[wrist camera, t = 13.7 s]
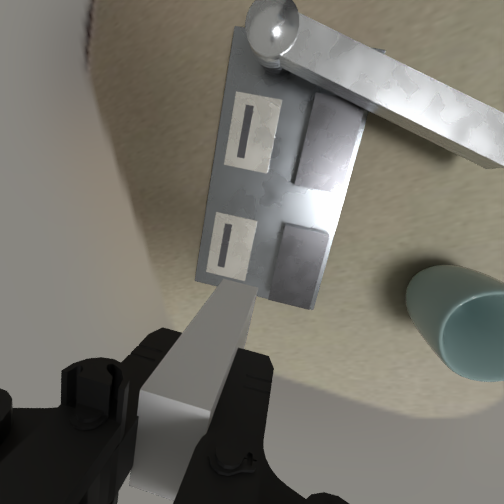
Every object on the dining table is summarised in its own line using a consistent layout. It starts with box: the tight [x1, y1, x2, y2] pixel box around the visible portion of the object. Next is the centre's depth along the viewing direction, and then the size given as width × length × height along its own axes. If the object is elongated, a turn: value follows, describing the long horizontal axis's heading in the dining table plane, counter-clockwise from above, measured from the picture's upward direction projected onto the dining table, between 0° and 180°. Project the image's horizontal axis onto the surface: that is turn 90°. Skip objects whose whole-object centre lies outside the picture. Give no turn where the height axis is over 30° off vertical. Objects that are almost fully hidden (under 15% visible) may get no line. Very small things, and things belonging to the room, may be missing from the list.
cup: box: [405, 265, 504, 382], centre depth 27 cm, size 8×8×10 cm
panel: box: [195, 26, 386, 310], centre depth 29 cm, size 26×14×4 cm, turn 169°
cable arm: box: [245, 0, 504, 169], centre depth 23 cm, size 22×4×3 cm, turn 64°
